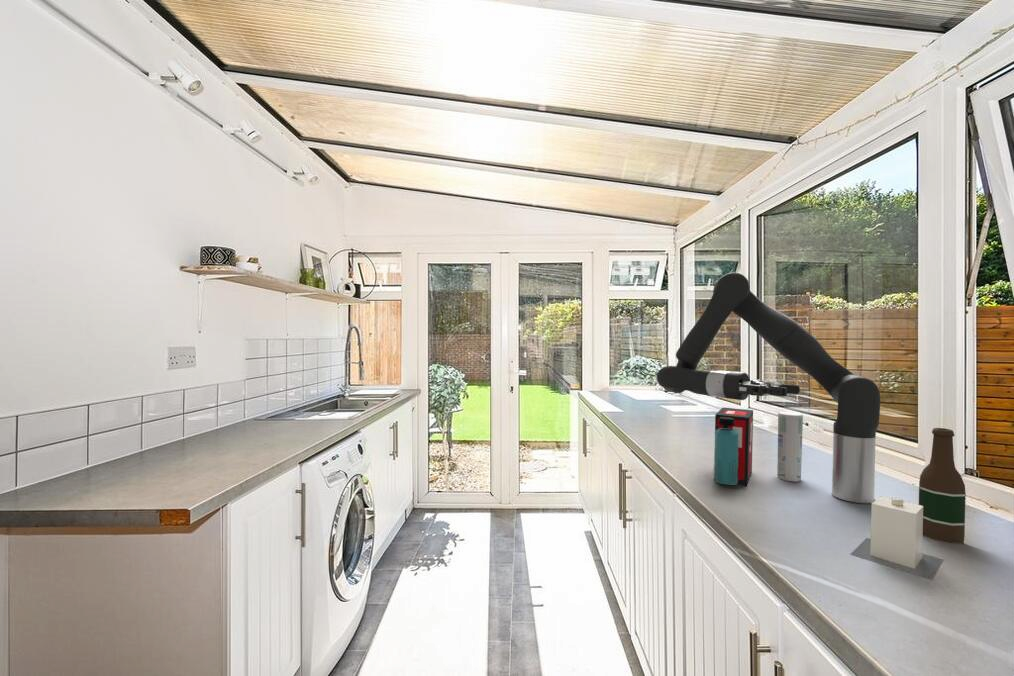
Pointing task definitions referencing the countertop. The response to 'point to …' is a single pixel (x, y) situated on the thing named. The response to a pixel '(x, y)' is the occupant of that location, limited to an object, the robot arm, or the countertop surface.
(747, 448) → the cleaning product box
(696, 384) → the robot arm
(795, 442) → the spray can
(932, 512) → the beer bottle
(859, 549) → the slate coaster
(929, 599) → the countertop surface
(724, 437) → the beverage bottle
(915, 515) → the knobbed cream block
